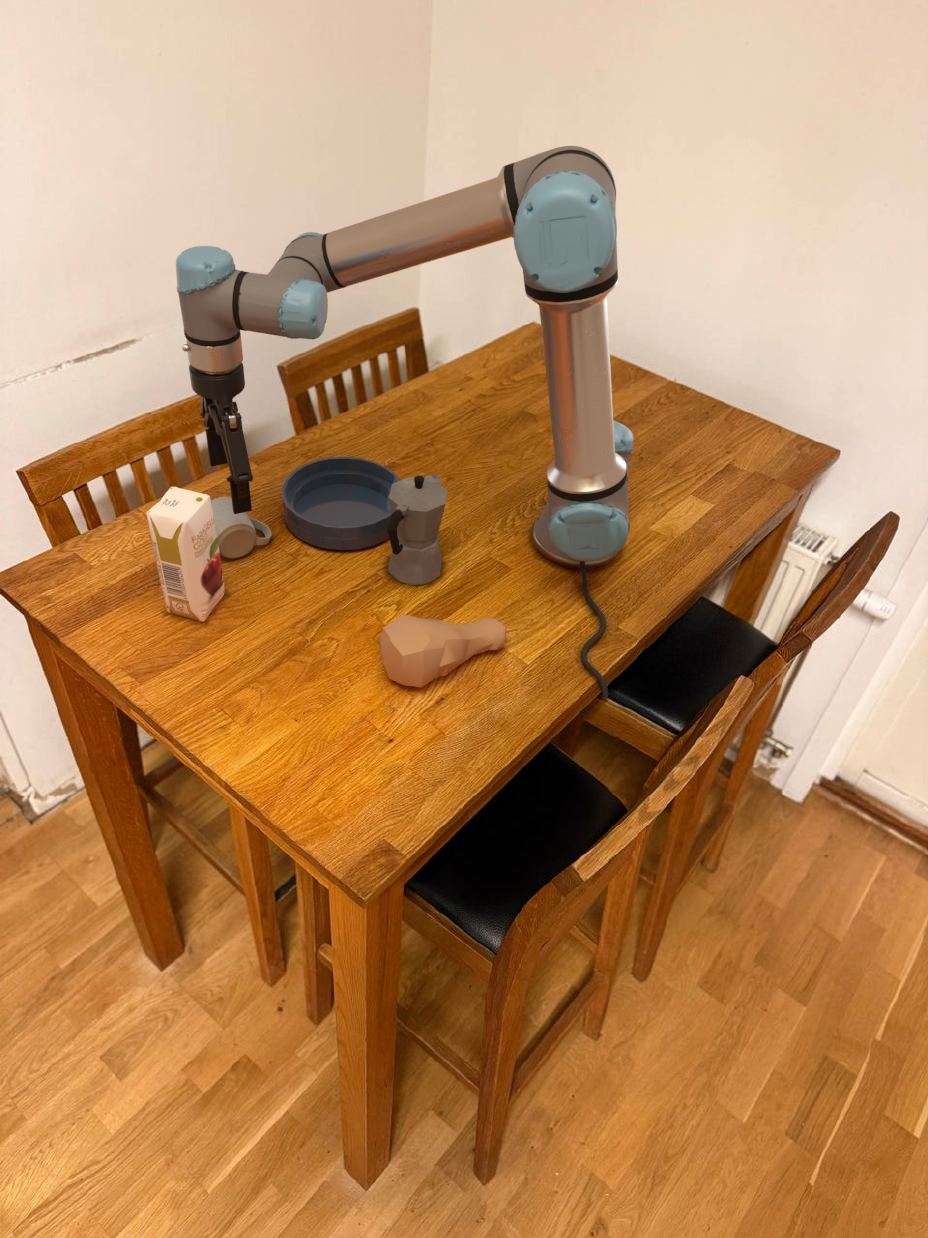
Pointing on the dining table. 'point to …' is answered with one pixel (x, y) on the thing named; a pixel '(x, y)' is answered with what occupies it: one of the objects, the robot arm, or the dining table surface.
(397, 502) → the coffeepot
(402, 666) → the raw chicken drumstick
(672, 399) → the dining table surface
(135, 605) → the dining table surface
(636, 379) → the dining table surface
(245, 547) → the ceramic mug
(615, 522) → the robot arm
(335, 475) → the bowl
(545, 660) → the dining table surface
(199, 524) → the juice carton
